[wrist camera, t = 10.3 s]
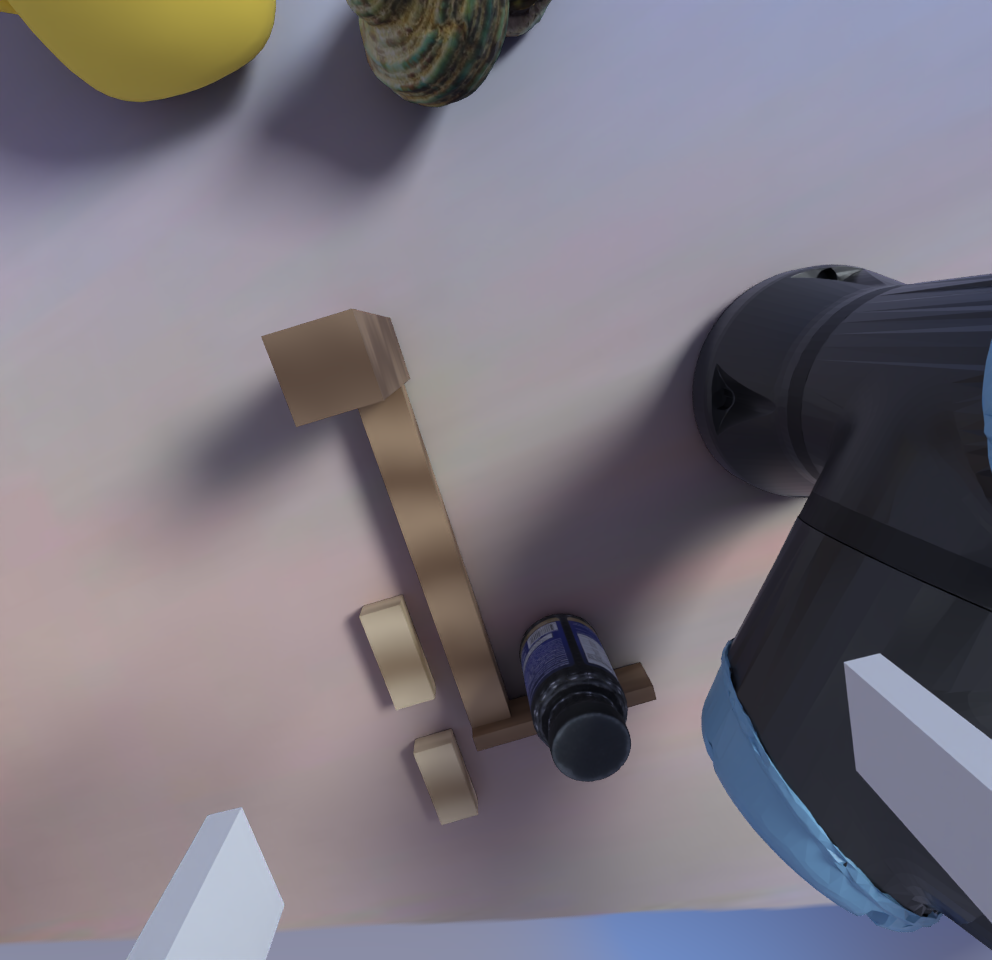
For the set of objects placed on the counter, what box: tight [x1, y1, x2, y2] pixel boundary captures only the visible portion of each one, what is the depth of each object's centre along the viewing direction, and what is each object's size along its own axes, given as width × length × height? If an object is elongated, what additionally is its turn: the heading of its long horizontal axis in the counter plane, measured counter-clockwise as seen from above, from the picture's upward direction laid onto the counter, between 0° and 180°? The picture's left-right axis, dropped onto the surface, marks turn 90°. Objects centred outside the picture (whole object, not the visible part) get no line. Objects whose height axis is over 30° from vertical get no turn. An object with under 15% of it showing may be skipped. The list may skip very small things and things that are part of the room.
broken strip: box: [359, 595, 478, 825], centre depth 43 cm, size 19×3×2 cm, turn 16°
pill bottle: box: [520, 614, 631, 782], centre depth 38 cm, size 6×6×11 cm
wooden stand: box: [261, 309, 656, 751], centre depth 34 cm, size 31×14×13 cm, turn 16°
